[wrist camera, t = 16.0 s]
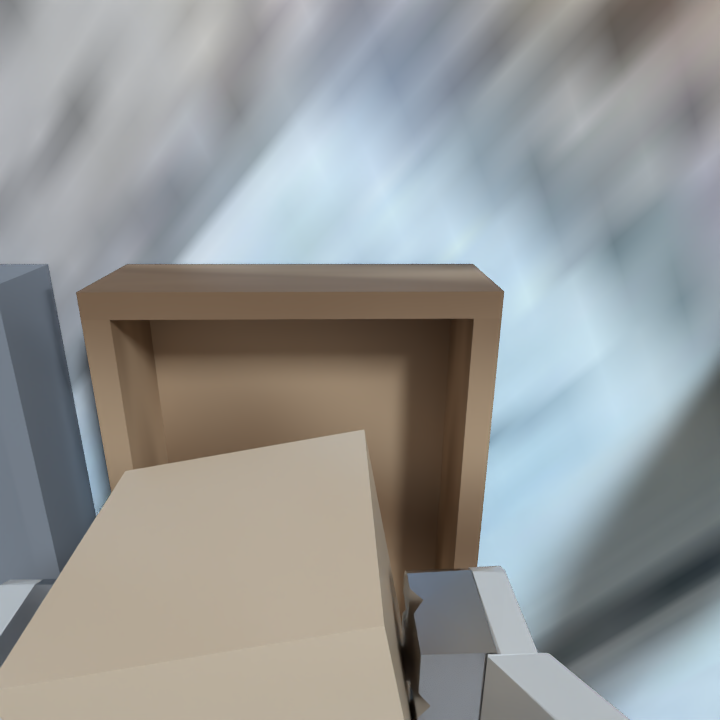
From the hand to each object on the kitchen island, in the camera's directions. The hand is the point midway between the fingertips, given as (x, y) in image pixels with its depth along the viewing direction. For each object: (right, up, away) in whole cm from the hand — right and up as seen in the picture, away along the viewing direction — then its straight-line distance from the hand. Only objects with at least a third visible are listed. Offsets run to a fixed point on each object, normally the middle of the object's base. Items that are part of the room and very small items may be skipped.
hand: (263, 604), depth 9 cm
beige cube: (0, 0, +1) cm, 1 cm away
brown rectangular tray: (0, 0, +8) cm, 8 cm away
